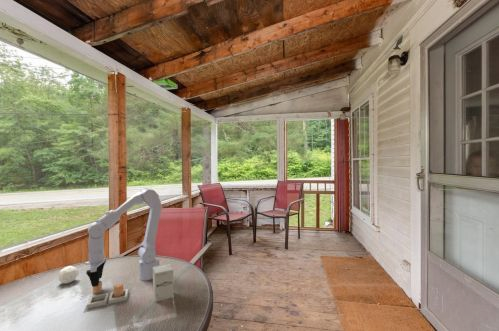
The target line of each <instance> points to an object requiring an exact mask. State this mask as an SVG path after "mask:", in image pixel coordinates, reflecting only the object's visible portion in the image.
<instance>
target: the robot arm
mask: <svg viewBox="0 0 499 331" xmlns="http://www.w3.org/2000/svg"><path fill="white" fill-rule="evenodd" d="M144 203H145V204H146V205H147V206H148V207H149V208H150V209H149V212H148V213H149V214H148V218H147V223H146V229H145V233H144V238H143V240H142V242H141V246H140V247H139V248H138V251H137V256H138V257H139V261H138V277H139V280H140V281H143V282H145V281H150V280H153V267H156V266H160V259H159V258H156V257H157V252H156V248H157V247H156V238H157V232H158V228H159V222H160V218H161V214H162V207H163V204H162V202H161V200H160V196H159V194H158V192H156V190H154V189H152V188H151V189H150V188H147V187H146V188H142V189H140V191H138V192H137V191H136V193H134V194H133V195H132V196H131V197H130V198H129V199H127V200H126V201H124V202H123V203H122V204H120V206H119V207H117V209H111V210H107V211H105V214H104V215H102V216H101V217H100V218H98V219H96V220H95V222H92V223H91V224H89V225H88V228H87V233H88V241H87V242H88V244H87V245H88V246H87V248H88V261H85V265H87V266H88V267H90V268H89V269H87V270H86V276H87V277H88V278H89V281H90V284H91V286H92V288H93V287H95V286H98V284H99V281H100V280H101V278H102V277H103V273H104V267H105V264H106V262H107V260H106V259H105V239H104V234H105V233H106V231H107V230H108V229H110V228H111V227H112V226H113V225H115V224H116V223H117V222H119V221H120V220H121V215H123V214H124V213H126V212H127V211H129V210H130V209H131V208H133V207H134V206H136V205H139V204H144Z"/></svg>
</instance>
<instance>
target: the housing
mask: <svg viewBox="0 0 499 331" xmlns="http://www.w3.org/2000/svg"><path fill="white" fill-rule="evenodd" d="M130 294H131V289H128V288H126V289H123V295H124V296H121V297H117V298H114V291H110V293H109V292H106V293H102V294H95V295H91V296H90V297H89V299H88V301H87V304H86V305H85V308H84V311H83V313H88V312H92V311H97V310H101V309H106V308H111V307H115V306H119V305H124V304H128V303H129V302H130Z"/></svg>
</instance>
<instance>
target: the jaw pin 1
mask: <svg viewBox="0 0 499 331" xmlns="http://www.w3.org/2000/svg"><path fill="white" fill-rule="evenodd" d="M102 292H103V281H102V280H99V284H98V286H95V287H92V294H93V295H98V294H99V293H102Z"/></svg>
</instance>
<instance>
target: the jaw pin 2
mask: <svg viewBox="0 0 499 331" xmlns="http://www.w3.org/2000/svg"><path fill="white" fill-rule="evenodd" d="M123 290H124V284H123V283H117V284H115V285H114V286H113V292H114V298H117V297H121V296H124V295H123Z"/></svg>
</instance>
